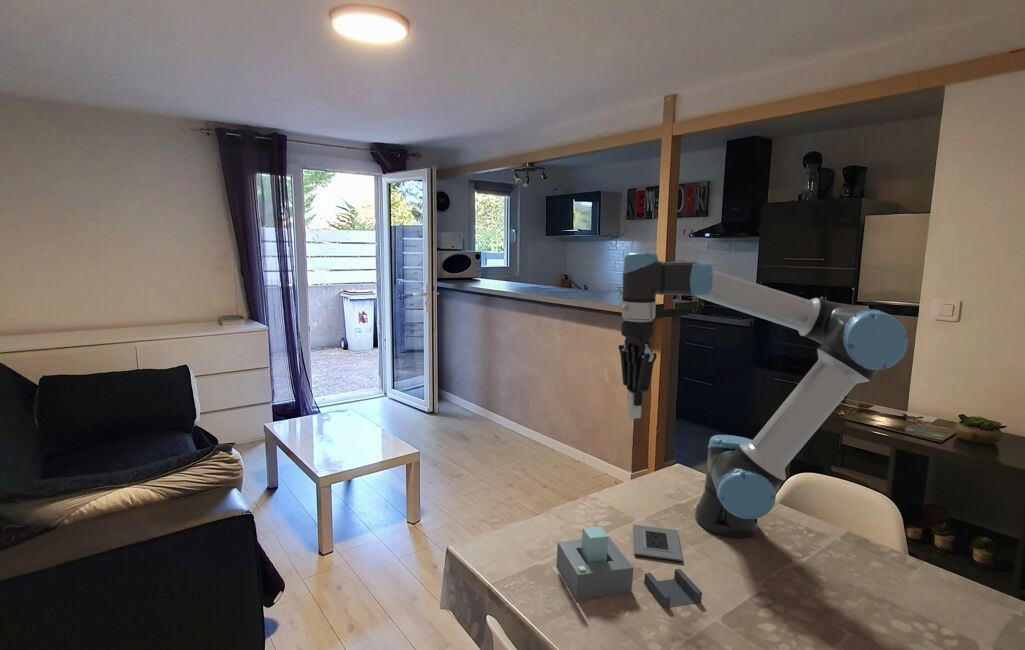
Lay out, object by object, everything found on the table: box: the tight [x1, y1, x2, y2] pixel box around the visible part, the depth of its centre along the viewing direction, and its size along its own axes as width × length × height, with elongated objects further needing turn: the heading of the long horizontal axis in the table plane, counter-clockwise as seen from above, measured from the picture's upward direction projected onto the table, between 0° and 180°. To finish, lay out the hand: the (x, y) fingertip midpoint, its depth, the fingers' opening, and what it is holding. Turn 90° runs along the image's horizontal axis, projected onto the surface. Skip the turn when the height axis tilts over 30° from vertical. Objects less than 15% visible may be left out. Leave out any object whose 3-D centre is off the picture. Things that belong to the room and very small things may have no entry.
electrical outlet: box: [632, 524, 684, 563], centre depth 127 cm, size 13×10×2 cm
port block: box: [556, 535, 634, 603], centre depth 113 cm, size 12×12×6 cm
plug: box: [581, 526, 609, 564], centre depth 113 cm, size 4×4×10 cm
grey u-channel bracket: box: [643, 568, 703, 609], centre depth 109 cm, size 8×8×3 cm
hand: (634, 417), depth 128 cm, fingers closed
